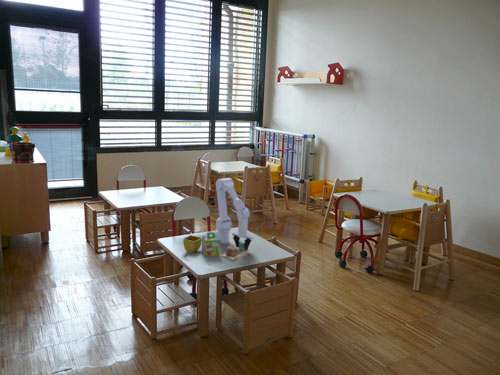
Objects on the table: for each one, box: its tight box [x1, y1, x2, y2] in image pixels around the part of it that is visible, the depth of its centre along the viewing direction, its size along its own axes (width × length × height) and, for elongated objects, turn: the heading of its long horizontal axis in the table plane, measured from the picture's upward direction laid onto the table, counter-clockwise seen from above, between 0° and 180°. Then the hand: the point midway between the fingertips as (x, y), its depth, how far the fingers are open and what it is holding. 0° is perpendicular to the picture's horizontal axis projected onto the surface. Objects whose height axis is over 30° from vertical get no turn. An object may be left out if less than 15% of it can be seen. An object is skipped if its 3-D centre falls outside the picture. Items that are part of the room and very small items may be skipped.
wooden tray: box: [220, 240, 250, 261], centre depth 263 cm, size 10×19×6 cm, turn 149°
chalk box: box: [201, 231, 221, 258], centre depth 260 cm, size 9×9×15 cm
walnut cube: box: [225, 245, 239, 257], centre depth 259 cm, size 5×5×5 cm
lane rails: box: [219, 245, 260, 262], centre depth 267 cm, size 14×26×2 cm, turn 149°
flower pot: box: [182, 234, 202, 254], centre depth 266 cm, size 9×9×9 cm
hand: (241, 248), depth 269 cm, fingers open, 6 cm apart
